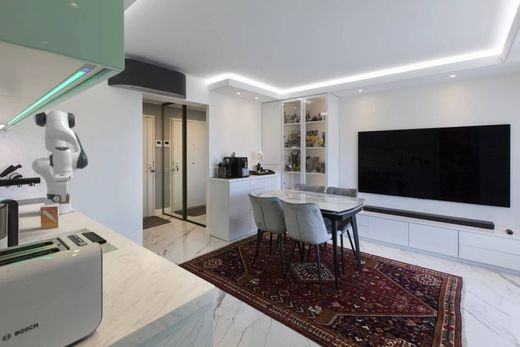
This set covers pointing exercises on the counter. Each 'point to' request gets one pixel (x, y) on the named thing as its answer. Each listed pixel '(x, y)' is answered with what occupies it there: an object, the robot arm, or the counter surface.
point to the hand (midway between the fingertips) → (64, 200)
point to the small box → (49, 216)
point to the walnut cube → (66, 199)
